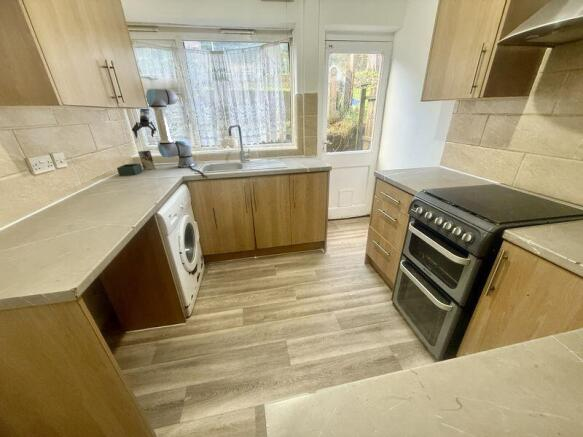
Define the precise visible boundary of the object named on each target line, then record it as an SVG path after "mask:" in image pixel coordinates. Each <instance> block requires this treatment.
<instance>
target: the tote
mask: <svg viewBox="0 0 583 437" xmlns="http://www.w3.org/2000/svg"><path fill="white" fill-rule="evenodd" d="M116 170H117V172H118V175H119V177H125V176H126V177H127V176H136V175H139V174H141V173H142V172H143V166H142V163H126V164H122V165H120V166H118V167H116Z"/></svg>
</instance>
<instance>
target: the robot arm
mask: <svg viewBox="0 0 583 437" xmlns="http://www.w3.org/2000/svg"><path fill="white" fill-rule="evenodd" d="M145 93H146V94H145V96H146V98H147V102H148V104H149V107H150V109H152V110H153V112H154V117H155V121H156V125H157V128H156V127H155V125H154V123H153V121H150V109H140V108H139V122H138V121H136V122H135V124H134V126H133V127H132V129H131V131H132V132H133V134H134V137H135V138H136V139H138V131H139V130H141V129H142V128H149V129H150V131H151V132H150V133H151V134H150V136H151V138H154V134H155V132H156V131H157V132H158V135H159V139H160V140H159V141H158V144H157V150H158V152H159V154H160V155H161V157H163V158H173V157H178V167H179V168H185V169H186V168H190V169H191V170H192V171H196V172H198V173H200V174H201V175H202V177H203V178H204V177H205V178H206V179H208V178H209V177H208V176H207V175H204V173H203V172H202V171H200V170H198V169H195V168H193V167H195V166H196V165H197V164H196V163H197V162H196V161H195V160H194V158H193V154H192V149H191V144H190V142H189V141H188V140H175V141H174V139H172V136H171V132H170V127H169V122H168V116H167V112H166V110H167V106H171V105H174V104H177V103H178V95H177V94H176V92H174V91H173V90H171V89H166V88H165V89H164V88H163V89H162V88H149V89H147V90H146V92H145ZM212 211H213V217H214V223H215V228H216V230H218V224H217V218H216V212H215V208H214V207H212Z"/></svg>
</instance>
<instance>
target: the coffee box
mask: <svg viewBox="0 0 583 437" xmlns="http://www.w3.org/2000/svg"><path fill="white" fill-rule="evenodd" d="M137 153H138V156H139V159H140V162H141V163H140V164H141V167H142V170H144V171H147V170H153V169H156V166H155V164H154V159H153V156H152V153H151V150H141V151H138V152H137Z"/></svg>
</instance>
